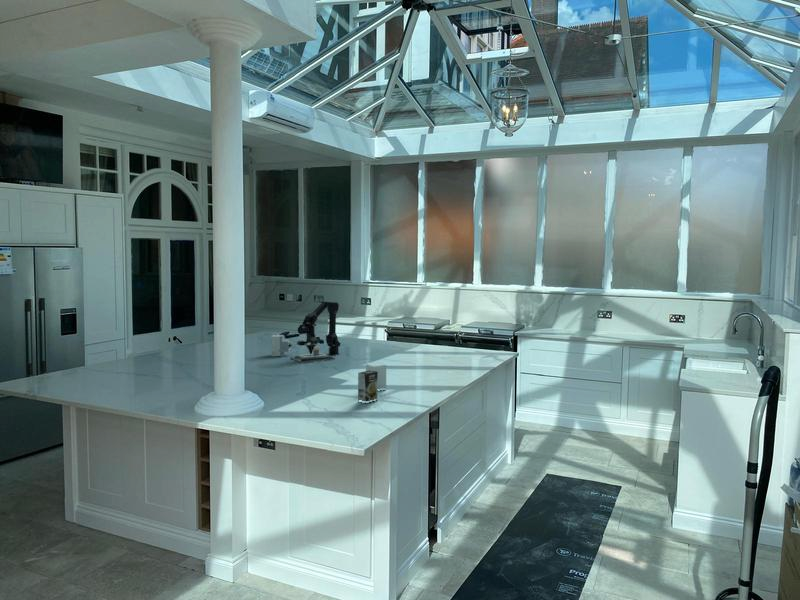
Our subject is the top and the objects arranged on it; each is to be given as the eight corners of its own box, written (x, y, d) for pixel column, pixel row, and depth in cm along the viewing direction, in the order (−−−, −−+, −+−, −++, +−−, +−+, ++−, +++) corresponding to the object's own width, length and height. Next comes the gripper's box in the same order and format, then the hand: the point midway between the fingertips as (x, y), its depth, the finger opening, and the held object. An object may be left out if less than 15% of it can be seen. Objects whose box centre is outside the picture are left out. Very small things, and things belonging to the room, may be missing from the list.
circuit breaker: (290, 356, 467) (290, 336, 466) (271, 356, 468) (270, 336, 466) (292, 354, 475) (292, 335, 473) (273, 354, 475) (273, 334, 474)
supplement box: (386, 390, 364) (386, 364, 363) (373, 392, 360) (373, 366, 358) (378, 387, 372) (378, 362, 370) (365, 389, 367) (365, 363, 366)
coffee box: (366, 404, 334) (366, 374, 333) (357, 402, 338) (357, 372, 337) (378, 400, 341) (378, 371, 339) (369, 398, 345) (369, 369, 344)
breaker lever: (317, 356, 461) (317, 347, 461) (319, 357, 459) (318, 348, 458) (313, 356, 460) (313, 348, 459) (314, 357, 457) (314, 348, 456)
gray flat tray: (323, 354, 470) (323, 352, 469) (330, 357, 457) (330, 356, 457) (294, 357, 458) (294, 355, 458) (301, 360, 446) (301, 358, 446)
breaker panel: (324, 355, 473) (324, 351, 473) (334, 359, 456) (334, 355, 455) (291, 358, 460) (290, 354, 460) (300, 363, 443) (300, 358, 443)
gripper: (302, 335, 444) (302, 357, 445) (326, 333, 453) (327, 354, 455) (296, 333, 453) (297, 354, 455) (320, 331, 463) (321, 352, 464)
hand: (310, 353), depth 457 cm, fingers closed
